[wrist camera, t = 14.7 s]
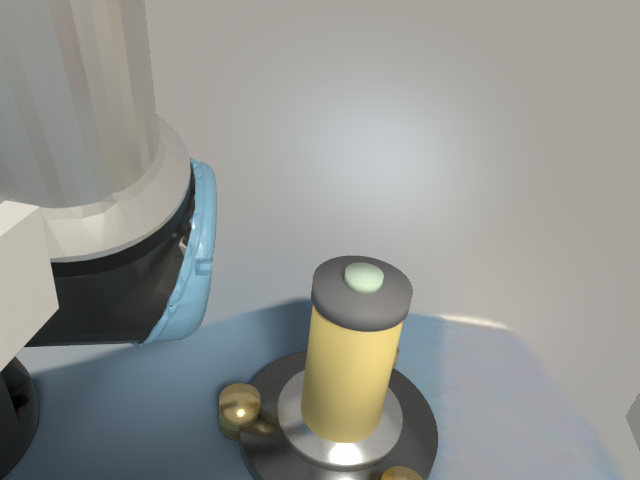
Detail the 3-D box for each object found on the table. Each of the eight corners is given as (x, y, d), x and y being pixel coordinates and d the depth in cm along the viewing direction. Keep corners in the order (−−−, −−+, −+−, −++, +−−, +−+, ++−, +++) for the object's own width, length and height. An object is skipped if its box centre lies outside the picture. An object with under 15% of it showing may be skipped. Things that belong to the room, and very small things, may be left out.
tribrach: (190, 449, 41) (189, 423, 40) (306, 327, 55) (309, 304, 53) (395, 574, 35) (403, 548, 34) (469, 401, 49) (477, 377, 47)
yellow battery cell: (281, 418, 42) (294, 278, 35) (324, 366, 47) (343, 236, 40) (360, 460, 39) (391, 318, 32) (396, 401, 44) (429, 268, 38)
